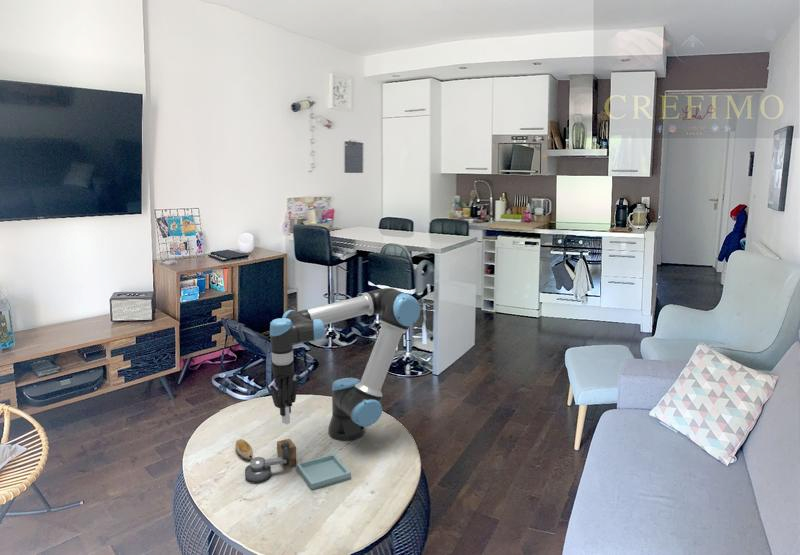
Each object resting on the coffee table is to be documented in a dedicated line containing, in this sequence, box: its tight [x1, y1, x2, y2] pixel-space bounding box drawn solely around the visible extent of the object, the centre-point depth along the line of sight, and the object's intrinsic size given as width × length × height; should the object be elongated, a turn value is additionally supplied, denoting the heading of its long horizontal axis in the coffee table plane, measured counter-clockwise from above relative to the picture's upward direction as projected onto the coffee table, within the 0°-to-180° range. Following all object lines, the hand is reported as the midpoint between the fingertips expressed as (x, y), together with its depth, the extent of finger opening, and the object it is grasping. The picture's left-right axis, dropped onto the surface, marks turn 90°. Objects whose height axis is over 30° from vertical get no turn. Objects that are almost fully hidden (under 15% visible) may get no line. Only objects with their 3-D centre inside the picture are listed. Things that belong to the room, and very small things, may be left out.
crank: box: [249, 443, 289, 472], centre depth 202 cm, size 14×5×8 cm, turn 110°
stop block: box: [276, 437, 297, 470], centre depth 210 cm, size 5×7×8 cm
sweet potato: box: [235, 438, 254, 461], centre depth 217 cm, size 5×14×4 cm, turn 31°
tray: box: [295, 453, 352, 491], centre depth 204 cm, size 15×15×2 cm
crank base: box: [244, 464, 272, 485], centre depth 202 cm, size 10×9×3 cm
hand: (286, 422), depth 205 cm, fingers closed
